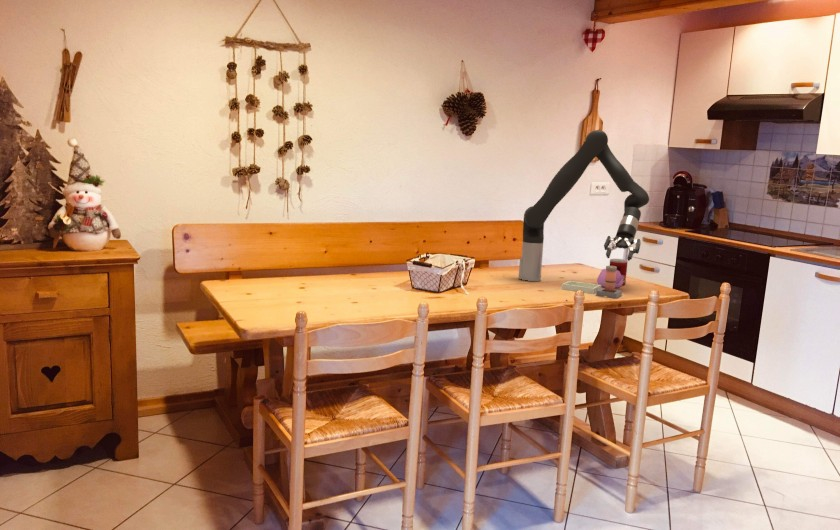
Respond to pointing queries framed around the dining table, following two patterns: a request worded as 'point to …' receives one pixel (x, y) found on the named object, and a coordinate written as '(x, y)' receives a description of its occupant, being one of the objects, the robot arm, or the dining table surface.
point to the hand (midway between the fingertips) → (618, 258)
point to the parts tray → (580, 287)
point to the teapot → (617, 281)
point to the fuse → (610, 278)
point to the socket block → (609, 294)
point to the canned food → (620, 267)
